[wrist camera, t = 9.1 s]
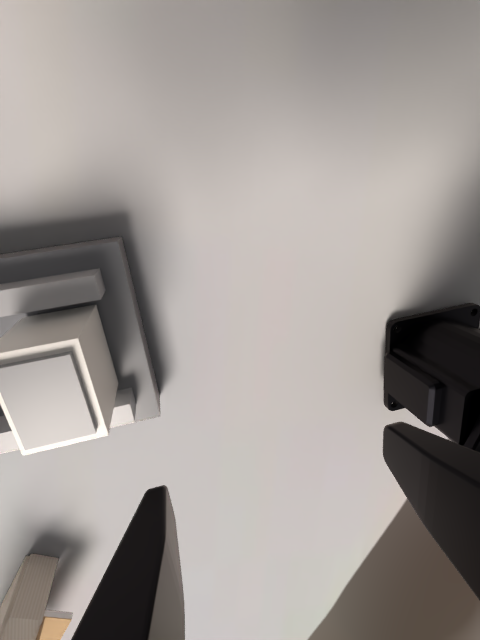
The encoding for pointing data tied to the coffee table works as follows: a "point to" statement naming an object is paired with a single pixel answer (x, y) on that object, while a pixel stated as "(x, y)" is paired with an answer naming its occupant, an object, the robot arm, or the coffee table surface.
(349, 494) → the coffee table surface
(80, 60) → the coffee table surface
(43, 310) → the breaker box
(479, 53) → the coffee table surface
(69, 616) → the architectural model
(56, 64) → the coffee table surface
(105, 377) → the toggle
